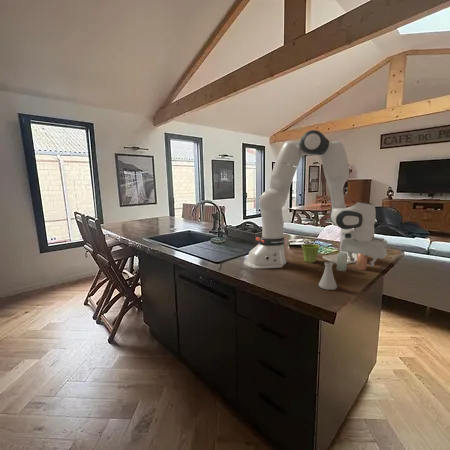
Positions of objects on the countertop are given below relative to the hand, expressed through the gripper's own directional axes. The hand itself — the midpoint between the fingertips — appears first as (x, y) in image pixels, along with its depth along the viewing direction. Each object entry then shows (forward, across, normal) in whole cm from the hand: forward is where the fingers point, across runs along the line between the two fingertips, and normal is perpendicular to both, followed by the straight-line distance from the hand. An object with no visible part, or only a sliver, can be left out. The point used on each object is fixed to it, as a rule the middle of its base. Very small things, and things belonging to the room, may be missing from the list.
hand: (361, 263), depth 126 cm
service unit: (+3, +13, -8) cm, 15 cm away
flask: (+3, -1, +33) cm, 33 cm away
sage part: (+3, +6, +8) cm, 11 cm away
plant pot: (+3, +24, +8) cm, 25 cm away
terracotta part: (+3, 0, 0) cm, 3 cm away
